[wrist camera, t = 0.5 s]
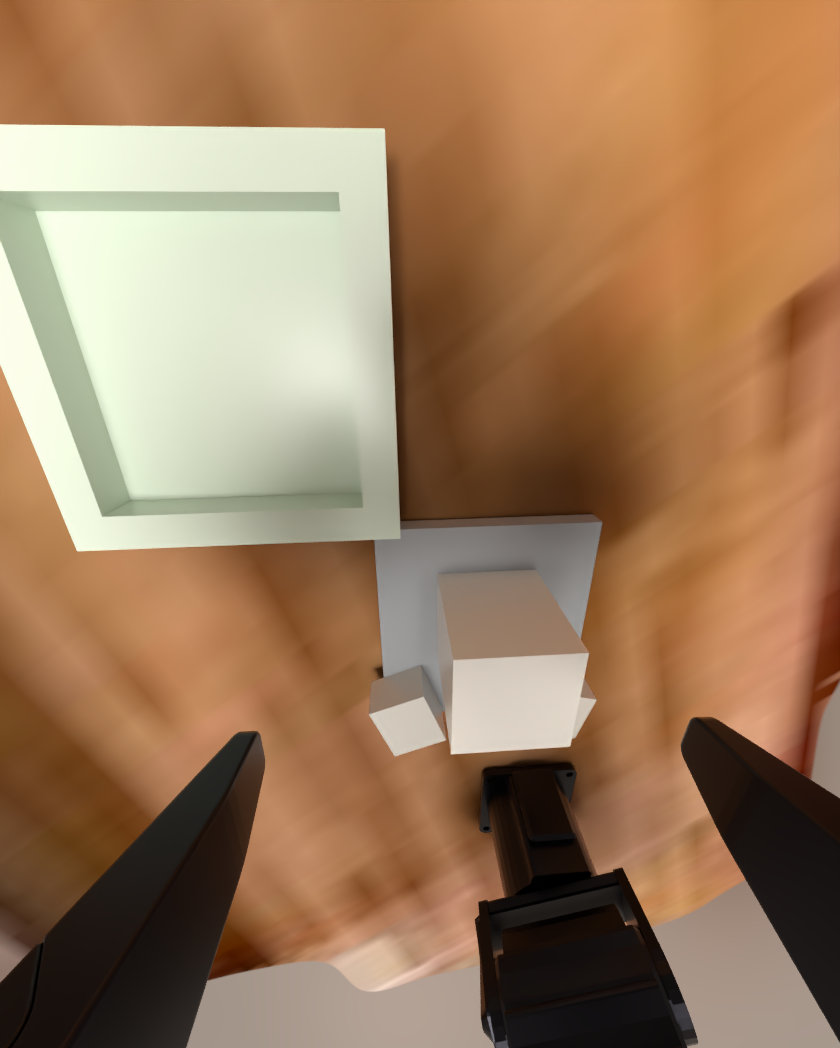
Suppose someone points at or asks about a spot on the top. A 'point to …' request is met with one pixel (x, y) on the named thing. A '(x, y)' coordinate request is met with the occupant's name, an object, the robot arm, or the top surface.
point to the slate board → (411, 604)
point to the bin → (202, 330)
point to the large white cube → (506, 662)
